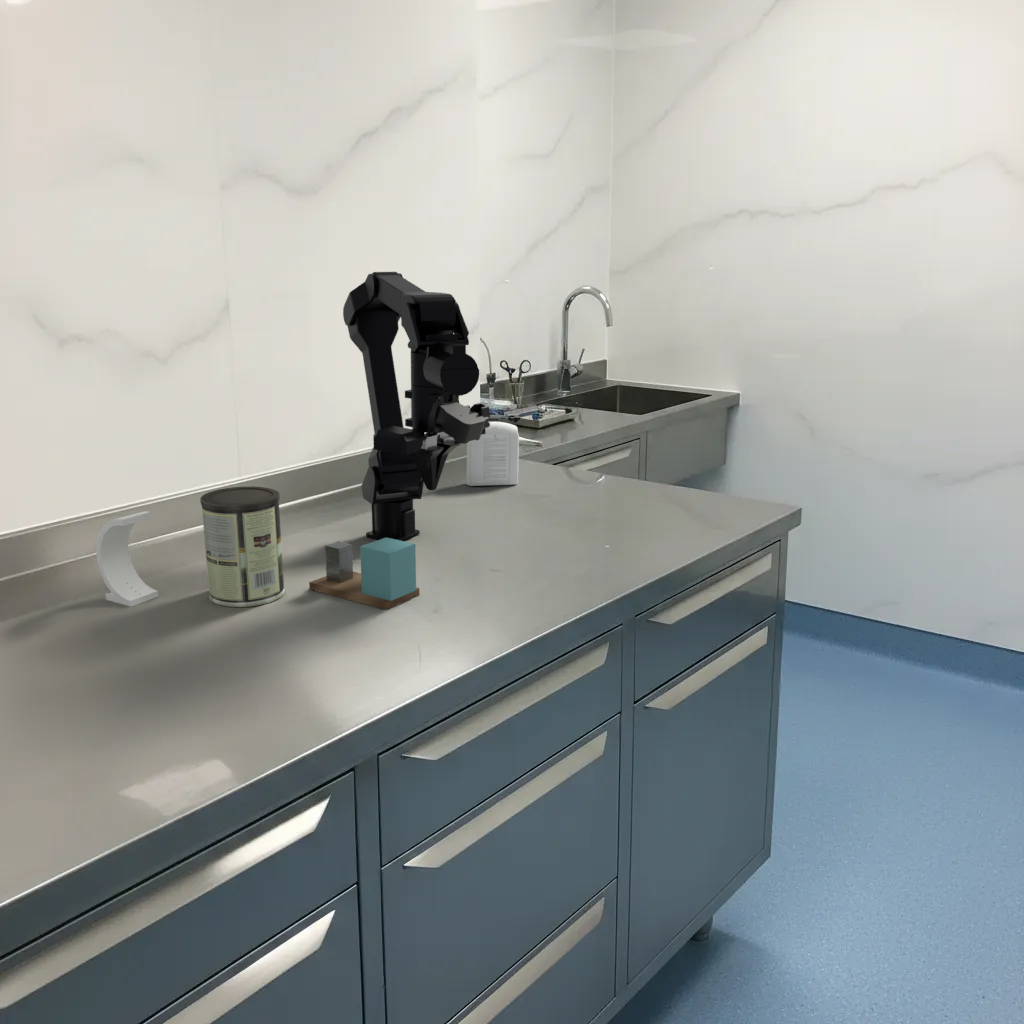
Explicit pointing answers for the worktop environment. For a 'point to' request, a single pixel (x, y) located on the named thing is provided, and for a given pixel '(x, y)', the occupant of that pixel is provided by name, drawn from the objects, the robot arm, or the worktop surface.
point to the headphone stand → (121, 562)
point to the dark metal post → (339, 562)
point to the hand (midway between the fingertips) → (431, 489)
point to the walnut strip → (356, 592)
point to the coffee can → (243, 546)
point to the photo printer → (494, 456)
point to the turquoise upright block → (388, 568)
